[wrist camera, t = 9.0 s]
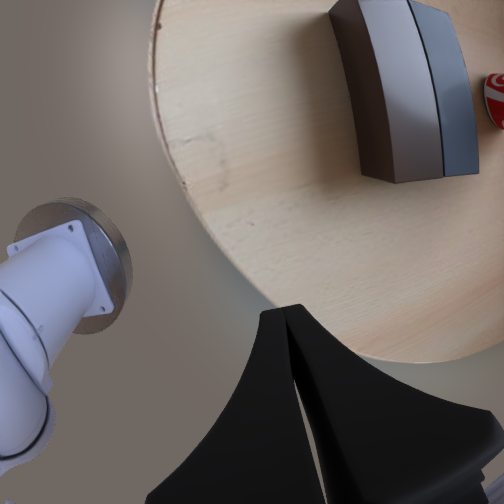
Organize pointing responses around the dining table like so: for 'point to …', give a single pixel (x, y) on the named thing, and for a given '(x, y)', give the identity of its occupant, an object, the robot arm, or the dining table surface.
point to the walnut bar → (389, 90)
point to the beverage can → (495, 98)
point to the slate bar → (449, 90)
